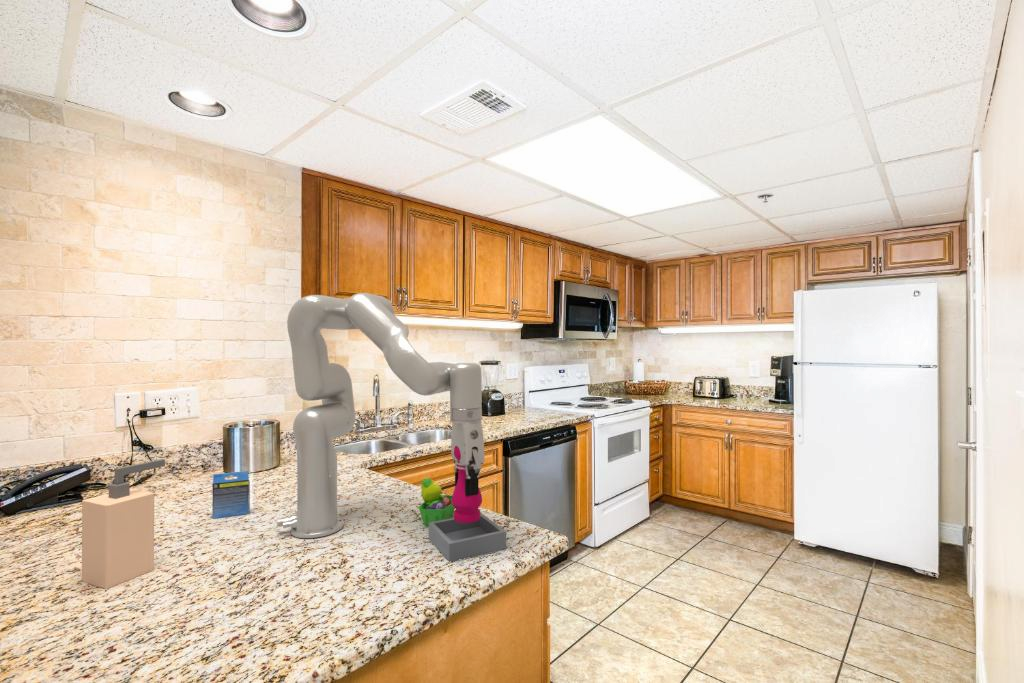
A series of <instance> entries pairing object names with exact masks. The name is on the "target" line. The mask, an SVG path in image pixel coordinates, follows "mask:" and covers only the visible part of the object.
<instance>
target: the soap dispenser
mask: <svg viewBox="0 0 1024 683" xmlns="http://www.w3.org/2000/svg"><path fill="white" fill-rule="evenodd" d="M165 466H166V459H164V458H160V459H155V460H151V461H150V460H149V461H145V462H141V463H135V464H132V465H131V464H130V465H126V466H122V467H118V468H114V482H113V483H110V484H108V493H105V494H102V495H98V496H94V497H89V498H86V499H82V502H81V507H82V508H81V510H82V511H81V582H82V583H83V582H84V583H86V584H90V585H93V586H96V587H99V588H101V589H103V590H104V589H105V590H108V589H111V588H113V587H115V586H118V585H120V584H123V583H126V582H127V581H130V580H133V579H135V578H138V577H141V576H142V575H144V574H148V573H150V572H153V571H154V570H155V492H151V491H145V490H142V489H141V490H140V489H135V488H130V482H126V481H125V476H127V475H132V474H136V473H141V472H145V471H149V470H154V469H158V468H159V469H160V468H163V467H165Z"/></svg>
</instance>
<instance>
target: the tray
mask: <svg viewBox="0 0 1024 683" xmlns="http://www.w3.org/2000/svg"><path fill="white" fill-rule="evenodd" d="M428 541H430V543H431V542H432V543H433V544H434V545H435V546H436V547H437V548H436V547H435V546H434V545H433V544H432V543H431V544H432V545H433V546H434V547H435V548H436V550H438V552H439V551H440V552H441V553H442V554H443V555H444V556H443V555H442V554H441V553H440V552H439V553H440V554H441V555H442V556H443V557H444V558H445V559H446V560H448V561H449V562H448V563H451V562H450V561H454V562H456V561H455V560H458V561H460V560H459V559H462V560H465V559H464V558H466V559H469V558H468V557H470V558H474V557H473V556H475V557H479V556H482V555H481V554H483V555H486V553H487V554H491V553H495V552H494V551H496V552H499V550H500V551H503V549H504V550H507V531H506V530H505V529H504V528H502V527H501V526H500V525H498V524H497V523H496V522H494V521H493V520H492V519H490V518H489V517H488V516H487V515H485V514H483V513H482V512H480V519H479V520H478V521H476V522H472V523H459V522H456V521H455V520H454V517H451V518H450V519H445V520H440V521H435V522H430V523H429V526H428ZM478 555H479V556H478Z"/></svg>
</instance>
